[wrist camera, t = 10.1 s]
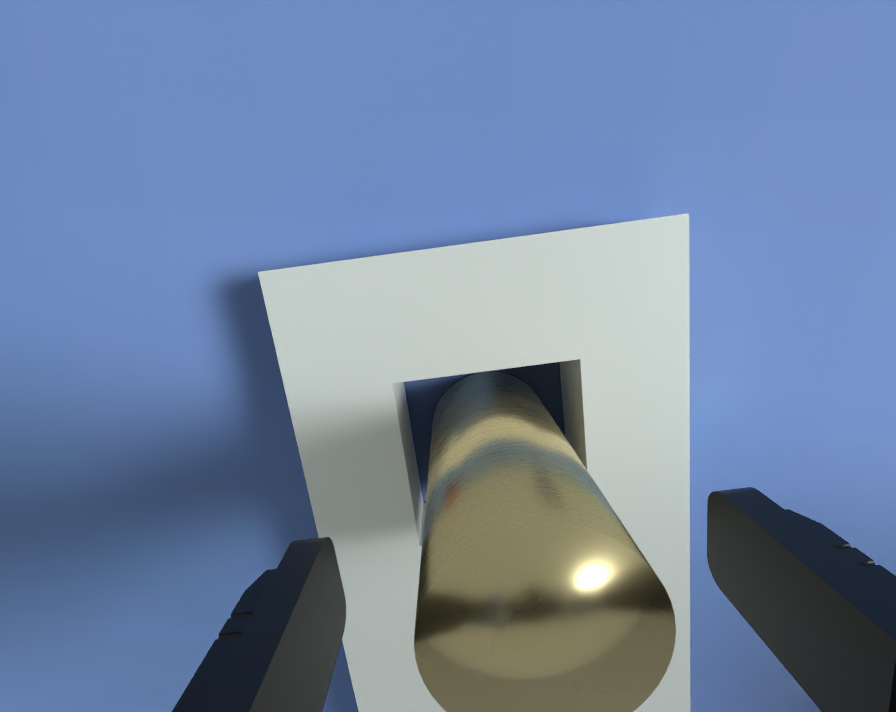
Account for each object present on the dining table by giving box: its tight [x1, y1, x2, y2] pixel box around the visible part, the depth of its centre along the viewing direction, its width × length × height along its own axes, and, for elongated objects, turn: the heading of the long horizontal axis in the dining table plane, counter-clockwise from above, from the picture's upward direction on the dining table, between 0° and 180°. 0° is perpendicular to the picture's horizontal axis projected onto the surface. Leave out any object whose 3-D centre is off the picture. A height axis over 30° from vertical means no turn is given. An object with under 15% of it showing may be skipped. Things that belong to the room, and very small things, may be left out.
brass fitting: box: [414, 371, 676, 712], centre depth 11 cm, size 4×4×9 cm
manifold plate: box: [258, 214, 690, 712], centre depth 16 cm, size 12×24×2 cm, turn 8°
